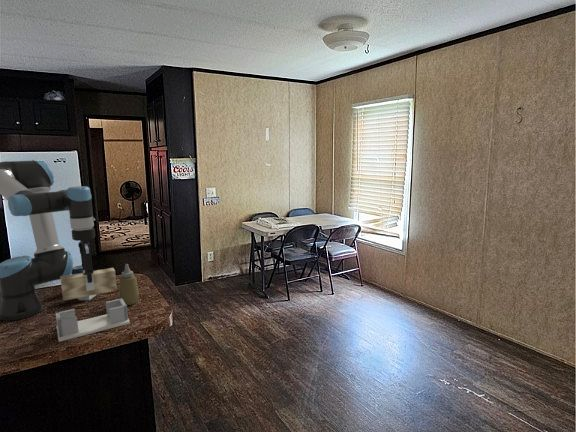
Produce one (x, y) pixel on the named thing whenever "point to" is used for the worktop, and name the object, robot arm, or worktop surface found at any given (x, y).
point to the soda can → (77, 270)
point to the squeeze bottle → (128, 287)
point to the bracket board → (91, 321)
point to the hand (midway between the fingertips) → (89, 287)
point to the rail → (76, 284)
